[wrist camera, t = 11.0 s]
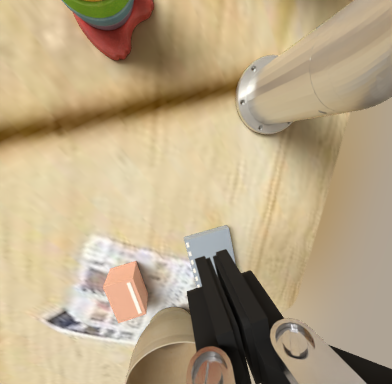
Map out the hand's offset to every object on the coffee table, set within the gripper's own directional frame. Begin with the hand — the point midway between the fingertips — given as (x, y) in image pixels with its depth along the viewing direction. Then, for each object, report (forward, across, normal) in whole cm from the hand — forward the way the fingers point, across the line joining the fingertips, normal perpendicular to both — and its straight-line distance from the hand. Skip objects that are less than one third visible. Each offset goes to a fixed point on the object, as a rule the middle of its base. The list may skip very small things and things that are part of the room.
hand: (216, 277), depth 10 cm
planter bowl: (+27, +10, +31) cm, 42 cm away
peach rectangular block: (+26, +14, +17) cm, 35 cm away
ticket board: (+27, -2, +19) cm, 33 cm away
